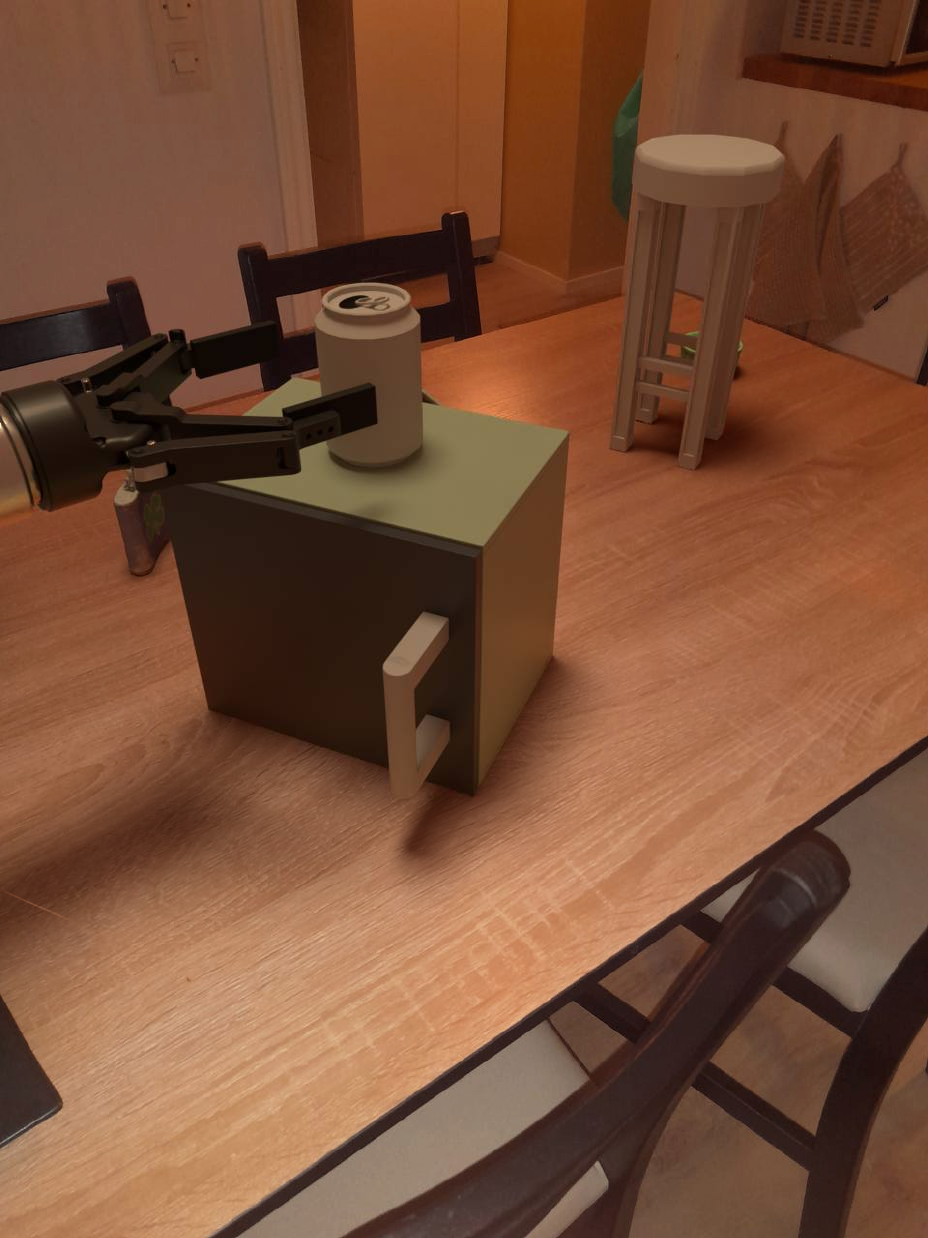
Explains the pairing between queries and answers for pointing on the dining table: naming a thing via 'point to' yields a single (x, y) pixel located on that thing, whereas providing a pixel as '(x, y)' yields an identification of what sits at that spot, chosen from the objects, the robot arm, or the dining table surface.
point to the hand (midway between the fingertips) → (322, 368)
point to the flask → (141, 525)
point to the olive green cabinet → (460, 527)
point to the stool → (678, 178)
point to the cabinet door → (334, 630)
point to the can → (373, 368)
